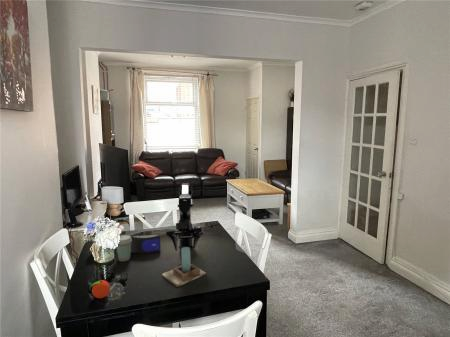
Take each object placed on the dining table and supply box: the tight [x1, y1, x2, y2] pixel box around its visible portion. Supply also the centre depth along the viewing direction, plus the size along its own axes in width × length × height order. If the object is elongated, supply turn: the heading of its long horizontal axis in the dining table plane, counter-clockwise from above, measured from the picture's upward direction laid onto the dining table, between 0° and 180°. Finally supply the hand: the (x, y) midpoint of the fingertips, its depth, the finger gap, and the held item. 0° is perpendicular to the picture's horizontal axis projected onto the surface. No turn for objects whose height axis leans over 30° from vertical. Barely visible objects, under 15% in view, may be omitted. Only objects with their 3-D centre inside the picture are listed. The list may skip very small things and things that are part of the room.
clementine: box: [89, 279, 111, 299], centre depth 122 cm, size 8×7×7 cm
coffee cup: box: [116, 234, 132, 262], centre depth 156 cm, size 8×8×12 cm
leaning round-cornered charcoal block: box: [131, 234, 162, 255], centre depth 164 cm, size 16×5×9 cm, turn 98°
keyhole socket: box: [161, 262, 207, 288], centre depth 140 cm, size 16×13×4 cm
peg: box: [180, 247, 191, 273], centre depth 137 cm, size 4×4×13 cm
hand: (185, 249), depth 146 cm, fingers open, 9 cm apart
